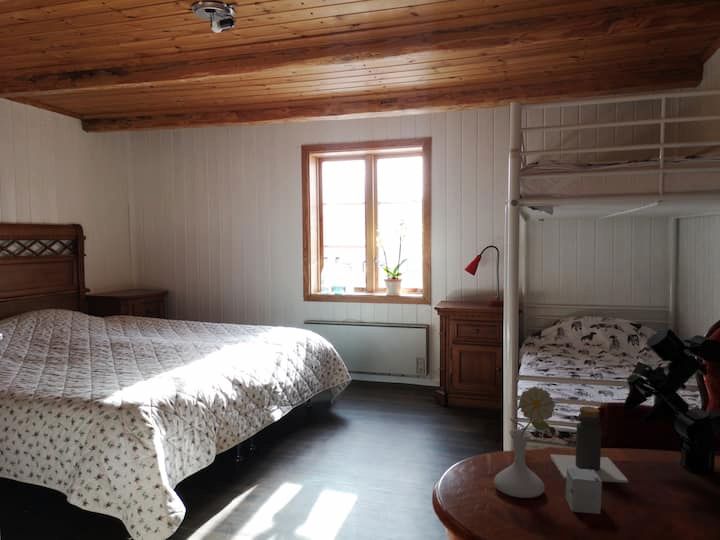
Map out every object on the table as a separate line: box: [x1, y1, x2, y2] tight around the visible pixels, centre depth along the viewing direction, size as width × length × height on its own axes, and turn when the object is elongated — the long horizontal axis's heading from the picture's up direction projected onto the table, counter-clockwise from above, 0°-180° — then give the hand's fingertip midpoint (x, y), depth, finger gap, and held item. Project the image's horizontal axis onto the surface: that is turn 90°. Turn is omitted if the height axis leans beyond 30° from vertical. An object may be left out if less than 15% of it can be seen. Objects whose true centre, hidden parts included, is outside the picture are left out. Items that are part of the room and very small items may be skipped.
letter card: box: [549, 454, 629, 484], centre depth 136 cm, size 15×14×1 cm
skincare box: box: [565, 468, 603, 515], centre depth 116 cm, size 6×6×7 cm
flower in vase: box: [493, 386, 556, 499], centre depth 122 cm, size 13×11×25 cm
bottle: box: [575, 406, 602, 471], centre depth 135 cm, size 6×6×15 cm
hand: (632, 416), depth 136 cm, fingers open, 9 cm apart
